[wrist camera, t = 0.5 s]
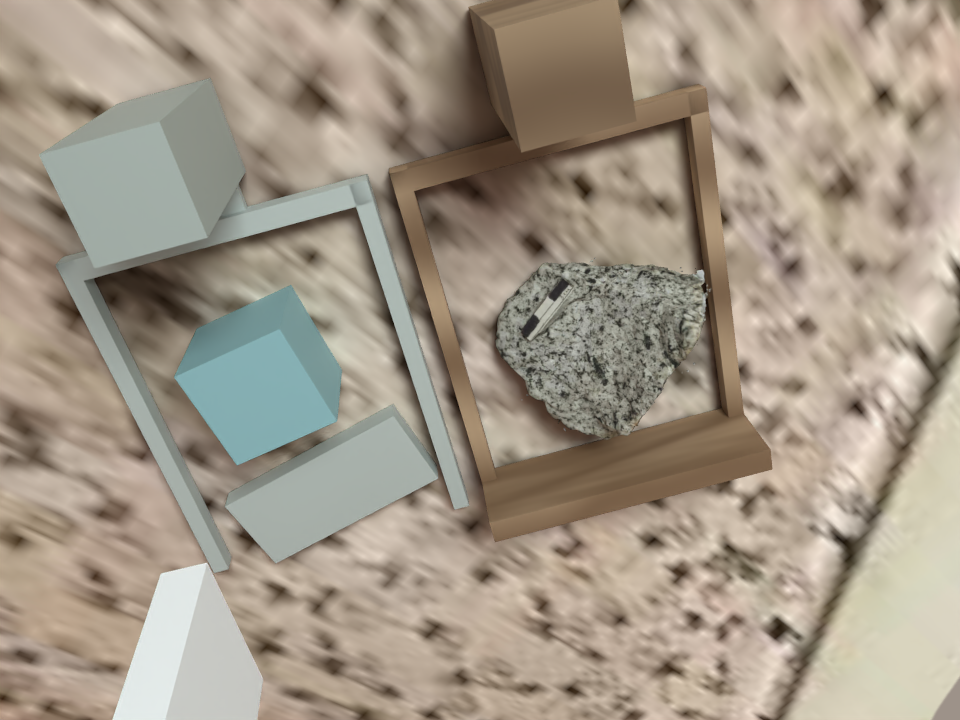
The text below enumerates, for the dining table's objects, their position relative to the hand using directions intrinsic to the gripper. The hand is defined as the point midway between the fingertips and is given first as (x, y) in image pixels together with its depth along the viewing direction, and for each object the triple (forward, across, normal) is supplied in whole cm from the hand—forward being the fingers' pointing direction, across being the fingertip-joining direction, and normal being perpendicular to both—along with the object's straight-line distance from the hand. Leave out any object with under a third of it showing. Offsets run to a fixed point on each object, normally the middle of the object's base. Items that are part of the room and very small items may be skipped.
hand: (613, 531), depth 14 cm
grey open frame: (+26, -11, -6) cm, 29 cm away
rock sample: (+27, +4, -10) cm, 29 cm away
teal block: (+27, -11, -7) cm, 30 cm away
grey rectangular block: (+26, -11, -15) cm, 32 cm away
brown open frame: (+26, +4, -6) cm, 27 cm away
